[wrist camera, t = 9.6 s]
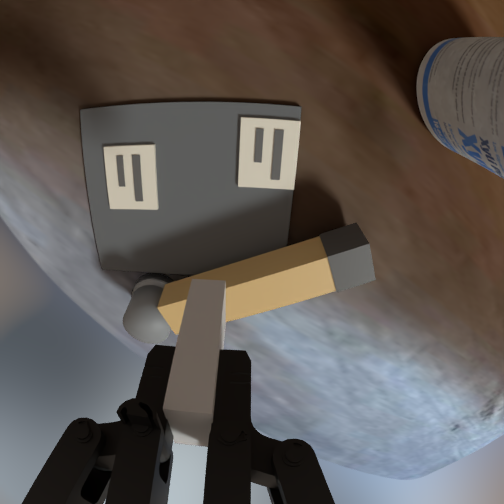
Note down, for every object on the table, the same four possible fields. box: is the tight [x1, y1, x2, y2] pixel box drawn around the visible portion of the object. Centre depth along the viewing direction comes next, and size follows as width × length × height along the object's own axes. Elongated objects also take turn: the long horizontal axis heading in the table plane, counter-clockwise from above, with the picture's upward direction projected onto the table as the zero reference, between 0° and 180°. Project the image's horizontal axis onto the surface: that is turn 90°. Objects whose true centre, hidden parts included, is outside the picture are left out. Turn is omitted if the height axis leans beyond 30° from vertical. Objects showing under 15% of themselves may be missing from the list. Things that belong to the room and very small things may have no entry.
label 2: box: [238, 117, 301, 190], centre depth 22 cm, size 5×4×1 cm
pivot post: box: [131, 273, 174, 297], centre depth 28 cm, size 4×4×1 cm
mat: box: [80, 102, 301, 275], centre depth 24 cm, size 14×16×1 cm
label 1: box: [104, 144, 159, 210], centre depth 23 cm, size 5×4×1 cm
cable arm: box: [123, 223, 375, 344], centre depth 25 cm, size 20×4×3 cm, turn 110°
